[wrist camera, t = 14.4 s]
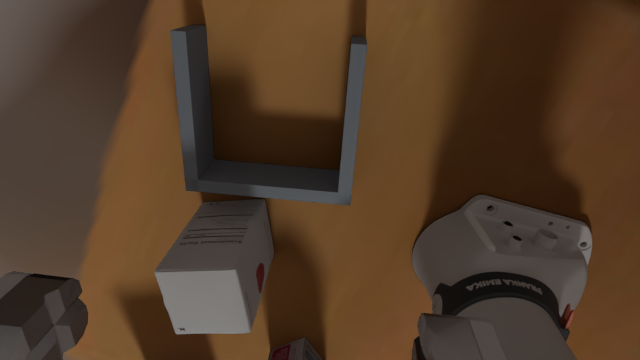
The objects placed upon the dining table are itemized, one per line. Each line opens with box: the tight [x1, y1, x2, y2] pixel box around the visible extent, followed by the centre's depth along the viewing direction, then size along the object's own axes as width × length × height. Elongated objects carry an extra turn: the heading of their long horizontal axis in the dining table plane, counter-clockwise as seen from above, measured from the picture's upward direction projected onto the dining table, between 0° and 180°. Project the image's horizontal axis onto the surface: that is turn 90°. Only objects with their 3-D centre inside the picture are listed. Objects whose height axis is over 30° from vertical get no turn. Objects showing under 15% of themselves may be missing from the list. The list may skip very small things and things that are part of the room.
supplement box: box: [154, 199, 274, 334], centre depth 49 cm, size 9×9×15 cm
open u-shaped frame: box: [170, 25, 367, 205], centre depth 45 cm, size 19×18×6 cm
